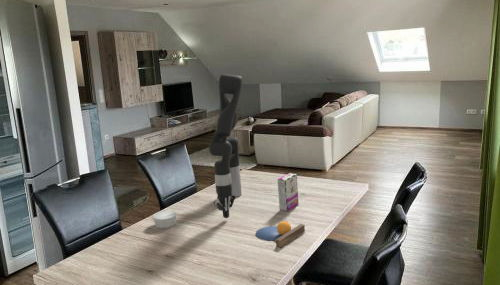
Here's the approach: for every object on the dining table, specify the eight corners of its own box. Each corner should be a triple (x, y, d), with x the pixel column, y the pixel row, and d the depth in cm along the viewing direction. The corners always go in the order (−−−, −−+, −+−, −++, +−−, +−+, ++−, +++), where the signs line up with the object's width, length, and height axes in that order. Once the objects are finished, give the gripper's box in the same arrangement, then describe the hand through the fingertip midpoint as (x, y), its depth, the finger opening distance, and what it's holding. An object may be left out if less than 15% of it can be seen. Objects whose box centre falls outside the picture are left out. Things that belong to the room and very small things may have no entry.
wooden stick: (276, 246, 157) (275, 239, 157) (300, 230, 171) (300, 223, 170) (280, 247, 156) (280, 240, 155) (304, 231, 169) (304, 224, 169)
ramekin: (172, 230, 180) (170, 219, 179) (149, 229, 183) (148, 219, 182) (181, 220, 191) (180, 210, 190) (159, 220, 193) (158, 210, 192)
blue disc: (249, 235, 169) (249, 235, 169) (268, 224, 179) (268, 223, 179) (275, 243, 160) (275, 243, 160) (294, 231, 170) (294, 230, 170)
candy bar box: (290, 203, 204) (289, 172, 201) (298, 204, 201) (297, 173, 198) (278, 210, 195) (277, 178, 192) (287, 212, 192) (285, 179, 189)
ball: (283, 240, 164) (272, 231, 167) (290, 235, 169) (279, 226, 172) (288, 230, 162) (277, 221, 164) (295, 225, 166) (284, 216, 169)
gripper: (227, 177, 190) (230, 211, 194) (207, 185, 181) (210, 220, 184) (238, 180, 186) (241, 214, 189) (219, 187, 176) (222, 224, 179)
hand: (226, 217), depth 187 cm, fingers closed
